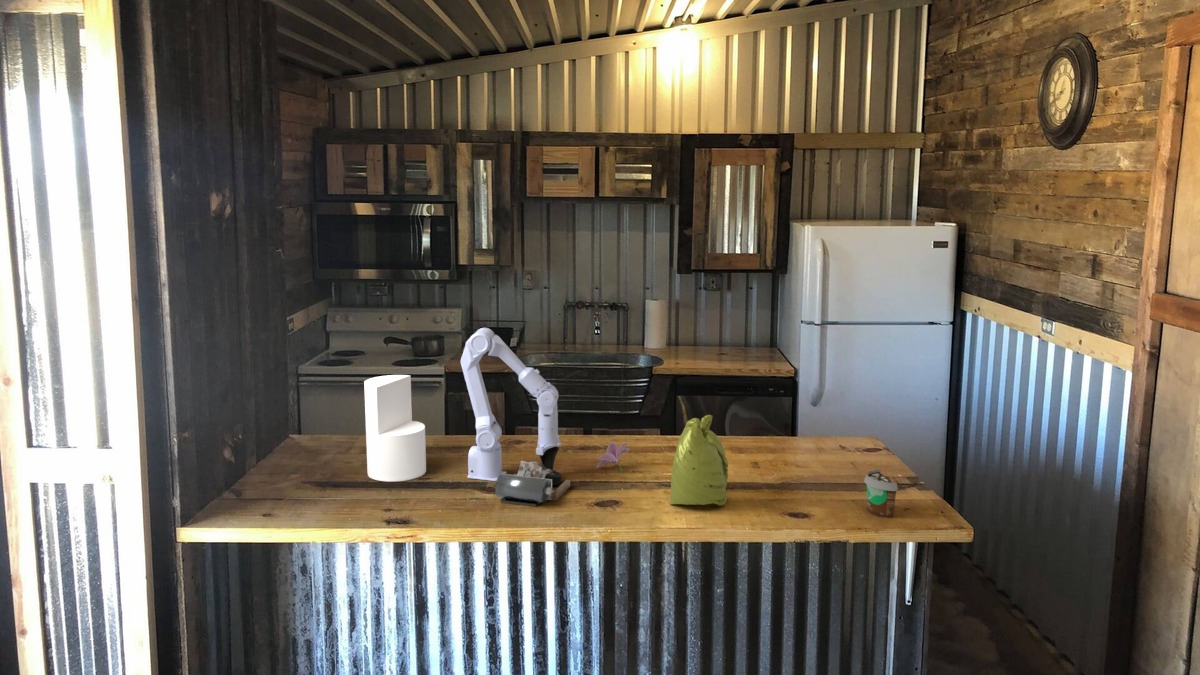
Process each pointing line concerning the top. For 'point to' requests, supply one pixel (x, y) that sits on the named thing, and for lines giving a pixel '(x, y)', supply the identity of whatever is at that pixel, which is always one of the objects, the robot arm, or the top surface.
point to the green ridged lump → (699, 466)
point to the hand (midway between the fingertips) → (548, 471)
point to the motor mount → (527, 489)
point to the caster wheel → (538, 471)
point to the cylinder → (393, 430)
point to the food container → (880, 494)
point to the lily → (613, 454)
